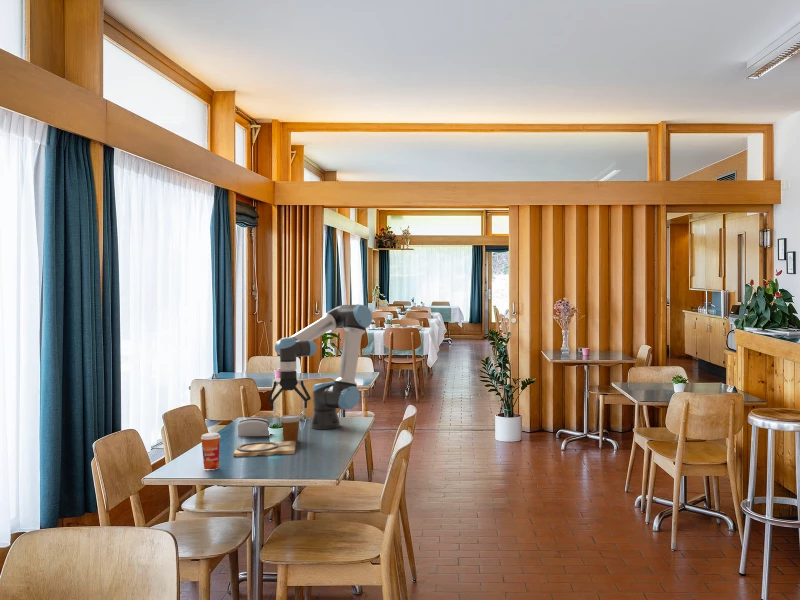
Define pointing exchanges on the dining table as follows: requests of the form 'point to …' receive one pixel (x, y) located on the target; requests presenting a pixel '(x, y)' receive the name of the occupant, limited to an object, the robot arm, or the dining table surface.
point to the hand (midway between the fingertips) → (289, 415)
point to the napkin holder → (253, 427)
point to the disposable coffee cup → (290, 427)
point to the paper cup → (211, 450)
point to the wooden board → (265, 448)
